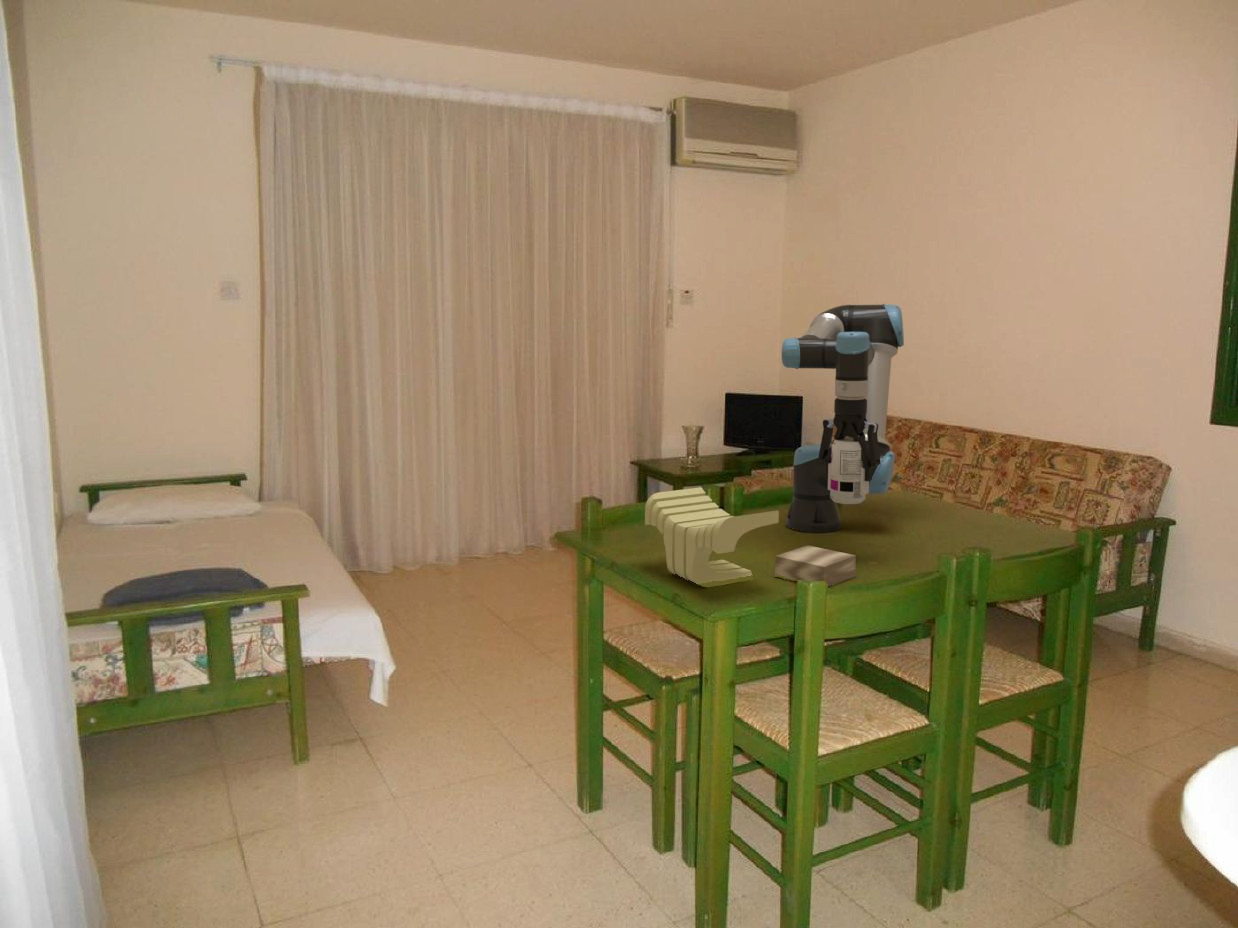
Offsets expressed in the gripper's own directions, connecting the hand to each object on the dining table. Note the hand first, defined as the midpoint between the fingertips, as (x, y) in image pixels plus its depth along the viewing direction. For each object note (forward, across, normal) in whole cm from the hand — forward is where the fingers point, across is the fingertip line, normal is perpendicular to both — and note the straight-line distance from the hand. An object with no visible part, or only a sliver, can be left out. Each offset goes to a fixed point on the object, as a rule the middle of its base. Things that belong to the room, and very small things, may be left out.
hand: (847, 491), depth 222 cm
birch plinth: (+17, +3, -18) cm, 24 cm away
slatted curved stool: (+17, -14, -35) cm, 41 cm away
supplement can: (+3, 0, 0) cm, 3 cm away
